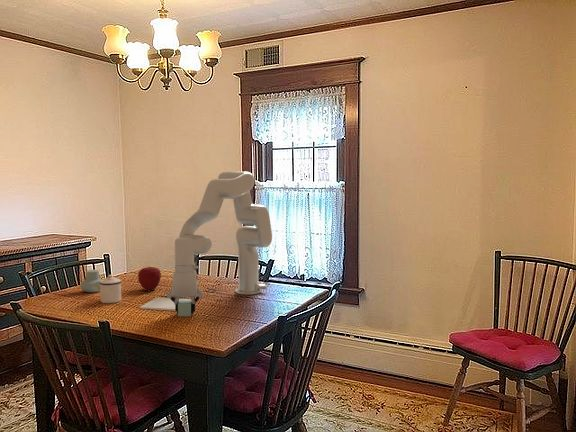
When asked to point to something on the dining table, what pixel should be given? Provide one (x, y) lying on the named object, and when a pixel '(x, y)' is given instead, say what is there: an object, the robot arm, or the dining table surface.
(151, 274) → the apple
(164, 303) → the tile
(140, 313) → the dining table surface
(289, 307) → the dining table surface
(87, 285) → the air freshener
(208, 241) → the robot arm
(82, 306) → the dining table surface
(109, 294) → the teacup with lid
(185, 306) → the block
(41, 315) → the dining table surface
